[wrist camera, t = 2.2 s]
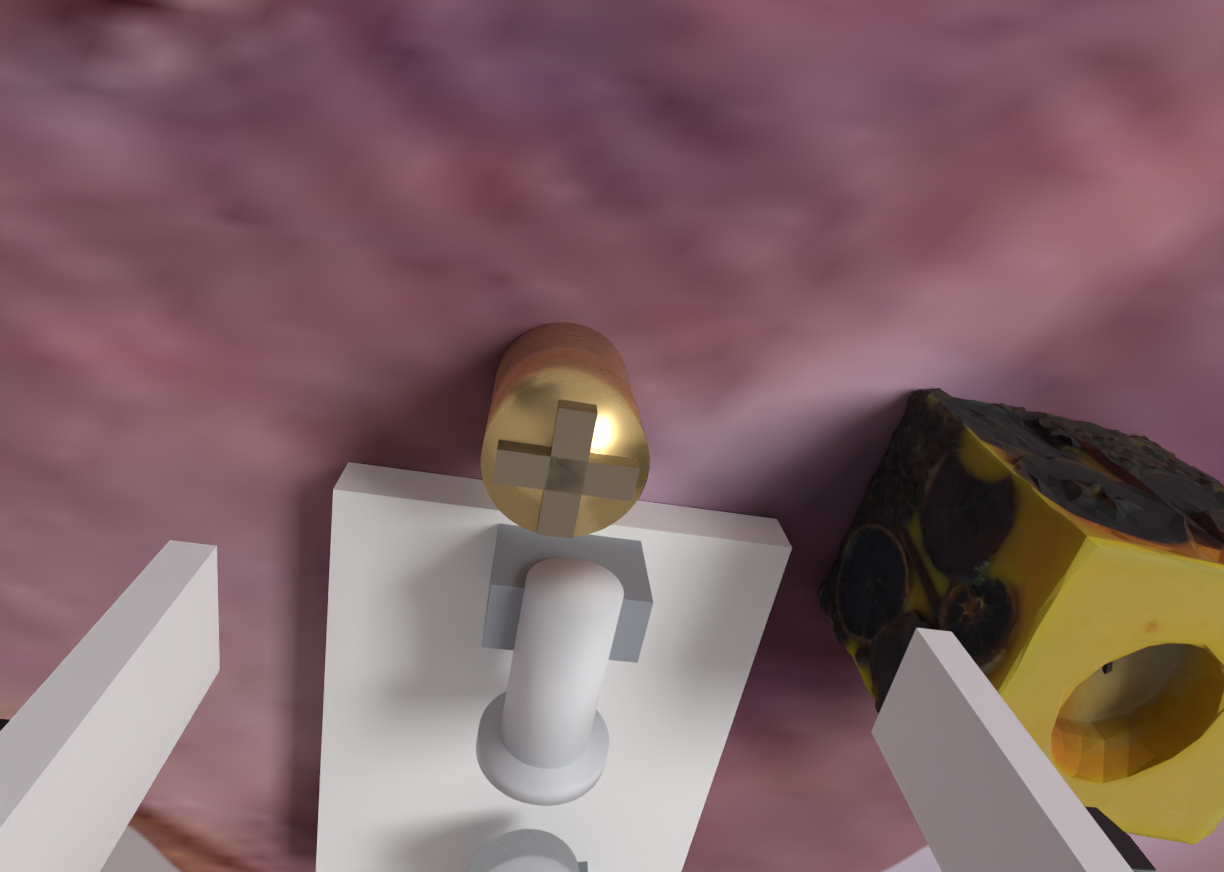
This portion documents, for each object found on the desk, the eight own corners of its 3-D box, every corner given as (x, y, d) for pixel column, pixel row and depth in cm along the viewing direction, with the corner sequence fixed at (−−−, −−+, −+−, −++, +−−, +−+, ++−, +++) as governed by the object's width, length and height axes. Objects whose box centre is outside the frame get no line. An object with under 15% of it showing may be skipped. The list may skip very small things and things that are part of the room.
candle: (1149, 434, 28) (1431, 594, 19) (1024, 640, 32) (1209, 853, 23) (911, 376, 26) (1098, 522, 17) (809, 601, 30) (919, 815, 21)
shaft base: (348, 462, 26) (274, 595, 19) (776, 518, 28) (850, 656, 21) (327, 845, 34) (269, 1038, 27) (663, 865, 36) (690, 1047, 29)
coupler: (504, 312, 24) (490, 382, 18) (640, 334, 25) (669, 409, 19) (487, 437, 26) (469, 538, 20) (615, 455, 27) (633, 558, 21)
